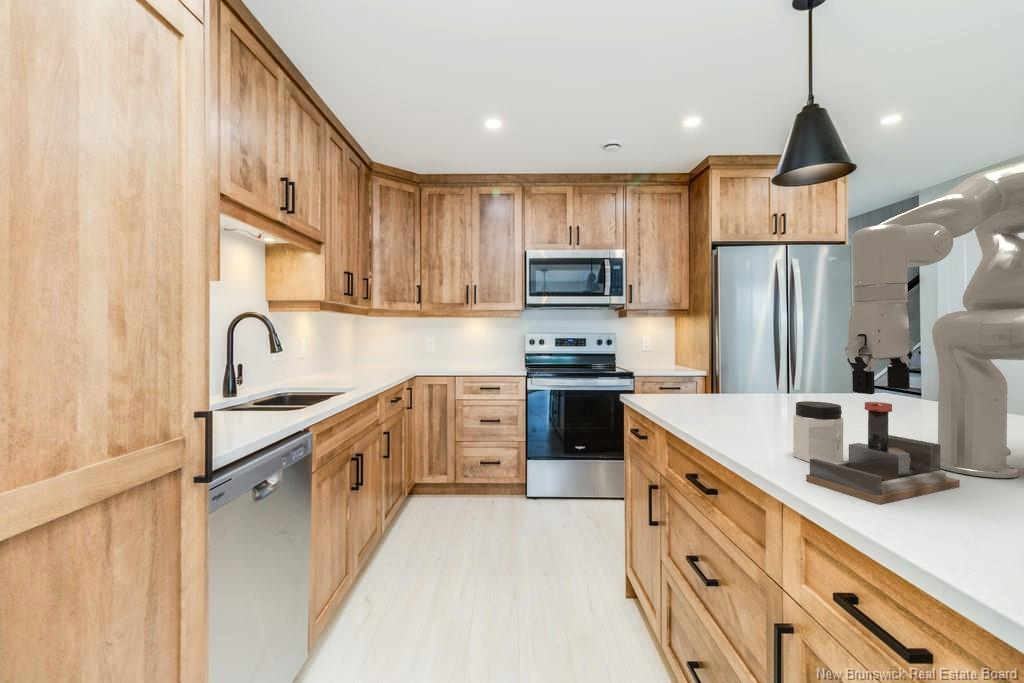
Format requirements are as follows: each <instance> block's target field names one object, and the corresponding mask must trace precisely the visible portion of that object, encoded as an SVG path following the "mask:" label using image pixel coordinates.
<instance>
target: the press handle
mask: <svg viewBox="0 0 1024 683" xmlns="http://www.w3.org/2000/svg"><path fill="white" fill-rule="evenodd" d="M864 410H865V411H867V444H866V443H863V442H857V443H849V444H848V460H849V468H852V469H856V470H860V471H863V472H867V473H871V474H875V475H878V476H882V480H884V481H888V480H893V479H898V478H903V477H909V465H910V454H909V453H905V452H900V451H895V450H891V449H888V435H889V413H891V412H893V404H892V403H890V402H883V401H882V402H881V401H864Z"/></svg>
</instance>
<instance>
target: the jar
mask: <svg viewBox="0 0 1024 683" xmlns="http://www.w3.org/2000/svg"><path fill="white" fill-rule="evenodd" d="M842 414H843V412H842V406H841V404H837V403H832V402H825V401H813V400H812V401H811V400H809V401H807V400H806V401H804V400H803V401H797V402H795V413H794V414H793V424H792V426H793V431H792V432H793V439H792V441H793V446H792V449H793V452H792V453H793V457H795V458H796V459H799V460H802V461H805V462H807V463H810V459H818V460H822V461H826V462H829V463H836V462H842V461H844V418H843V417H842Z"/></svg>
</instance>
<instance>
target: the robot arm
mask: <svg viewBox="0 0 1024 683" xmlns="http://www.w3.org/2000/svg"><path fill="white" fill-rule="evenodd" d="M972 231H974V232H975V235H976V238H977V240H978V244H979V248H980V249H981V252H982V255H981V260H980V262H979V263H978V266H977V268H976V269H975V271H974V273H973V275H972V276H971V279H970V280H969V282H968V284H967V286H966V288H965V290H964V291H963V292H964V293H963V294H962V304H963V307H964V309H965V310H959V311H953V312H950V313H946V314H944V315H942V316H940V317H938V319H937V320H936V321H935V322H934V323H933V326H932V331H931V336H932V342H933V346H934V350H935V351H934V352H935V354H936V360H937V370H938V371H937V372H938V382H937V383H938V384H937V385H938V388H937V389H938V390H937V391H938V394H937V395H938V396H937V397H938V398H937V407H938V408H937V444H941V465H940V470H941V469H942V470H945V471H949V472H952V473H957V474H962V475H968V476H974V477H975V476H976V477H982V478H993V479H994V478H995V479H1013V478H1017V477H1019V474H1020V472H1019V471H1020V470H1019V469H1018V468H1016V467H1015V466H1013V465H1010V464H1007V457H1008V456H1011V454H1012V451H1011V450H1012V449H1010V448H1009V447H1007V442H1008V441H1007V438H1008V392H1009V390H1008V382H1007V379H1006V377H1005V375H1004V373H1002V371H1001V370H1000V369H999V368H998V366H996V365H995V363H993V361H992V360H1000V361H1001V360H1003V361H1004V360H1007V361H1024V238H1022V237H1021V236H1019V234H1022V233H1024V160H1023V161H1022V160H1021V161H1019V162H1015V163H1011V164H1007V165H1004V166H1000V167H996V168H995V167H994V168H991V169H988V170H985V171H981V172H977V173H975V174H974V175H971V176H970V177H968V178H966V179H964V180H962V181H961V182H960V183H958V184H956V185H955V186H954V187H952V188H951V189H950V190H948V191H947V192H945V193H944V194H942V195H941V196H939V197H937V198H936V199H934V200H930V201H928V202H926V203H923V204H921V205H919V206H916V207H914V208H912V209H910V210H908V211H905V212H903V213H901V214H898V215H896V216H894V217H891V218H889V219H887V220H885V221H883V222H880V223H879V224H877V225H872V226H866V227H863V228H861V229H858V230H856V231H855V232H854V233H853V235H852V239H851V248H852V249H851V260H852V261H851V262H852V296H853V297H852V298H853V299H852V302H853V304H852V306H851V310H850V315H849V321H848V332H847V333H848V334H847V335H848V336H847V345H846V346H845V347H844V351H845V354H846V357H847V362H848V364H849V369H850V370H851V371H852V373H851V375H852V392H853V393H855V394H865V395H874V394H875V392H876V391H875V389H876V388H875V371H873V370H872V369H873V366H874V365H875V363H876V361H879V360H880V361H881V360H887V362H888V364H889V365H887V367H886V368H887V369H886V370H887V372H886V373H887V388H889V389H899V390H909V389H910V386H911V385H910V384H911V383H910V382H911V381H910V378H911V376H910V367H911V365H912V361H911V360H912V357H913V354H914V353H913V350H914V347H915V342H914V341H913V340H912V339H911V333H910V323H909V321H910V320H909V316H908V315H909V314H908V308H907V303H909V300H908V297H909V296H908V289H909V288H908V268H909V269H910V268H916V267H917V268H918V267H924V266H929V265H930V266H931V265H934V264H937V263H938V262H941V261H942V260H944V259H945V258H946V257H947V256H949V255H950V253H952V250H953V247H954V239H956V238H958V237H961V236H964V235H966V234H969V233H971V232H972ZM865 361H866V362H865Z"/></svg>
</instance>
